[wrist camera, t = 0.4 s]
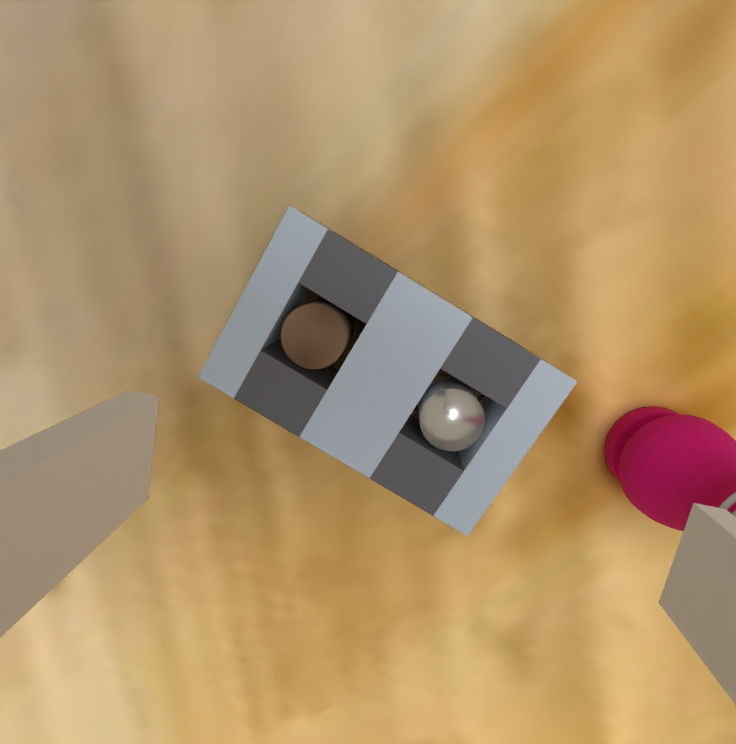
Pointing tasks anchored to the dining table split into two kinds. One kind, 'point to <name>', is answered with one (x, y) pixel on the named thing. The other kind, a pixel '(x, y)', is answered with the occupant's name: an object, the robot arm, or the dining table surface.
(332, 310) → the walnut peg
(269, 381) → the socket block
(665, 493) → the pepper mill
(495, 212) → the dining table surface
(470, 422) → the grey metal peg
